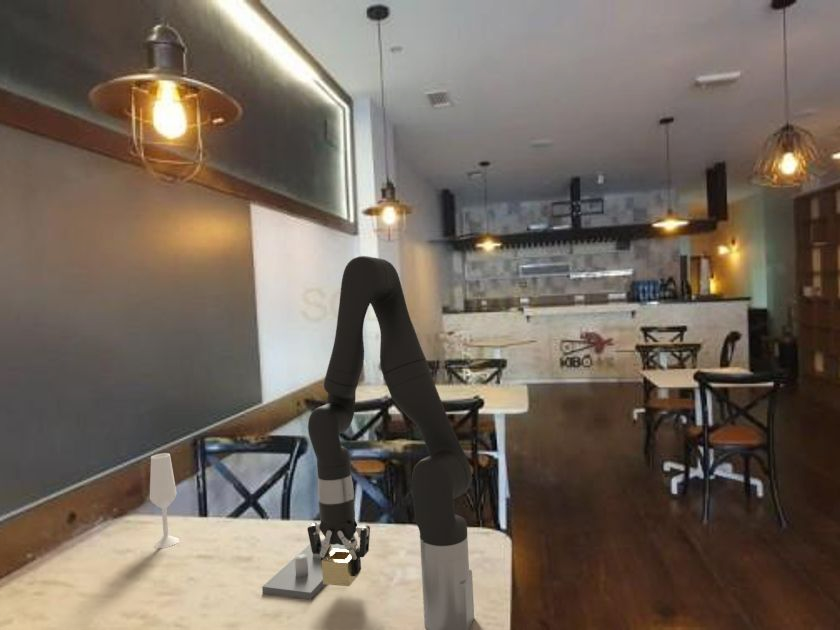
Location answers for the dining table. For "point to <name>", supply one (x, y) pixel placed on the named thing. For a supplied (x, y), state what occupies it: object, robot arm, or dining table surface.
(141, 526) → the dining table surface
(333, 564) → the hollow square frame
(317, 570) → the stub plate
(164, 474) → the champagne flute
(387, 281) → the robot arm
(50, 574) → the dining table surface
